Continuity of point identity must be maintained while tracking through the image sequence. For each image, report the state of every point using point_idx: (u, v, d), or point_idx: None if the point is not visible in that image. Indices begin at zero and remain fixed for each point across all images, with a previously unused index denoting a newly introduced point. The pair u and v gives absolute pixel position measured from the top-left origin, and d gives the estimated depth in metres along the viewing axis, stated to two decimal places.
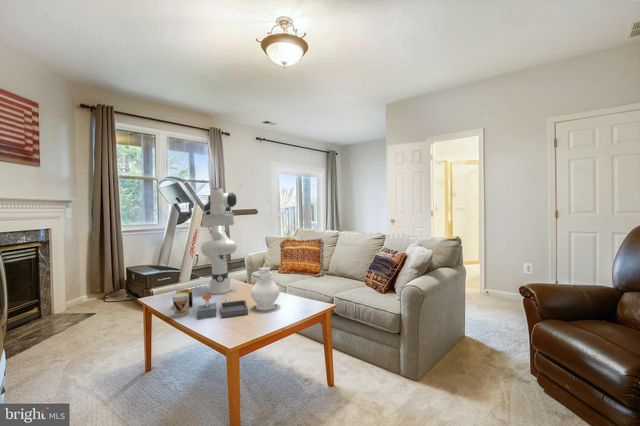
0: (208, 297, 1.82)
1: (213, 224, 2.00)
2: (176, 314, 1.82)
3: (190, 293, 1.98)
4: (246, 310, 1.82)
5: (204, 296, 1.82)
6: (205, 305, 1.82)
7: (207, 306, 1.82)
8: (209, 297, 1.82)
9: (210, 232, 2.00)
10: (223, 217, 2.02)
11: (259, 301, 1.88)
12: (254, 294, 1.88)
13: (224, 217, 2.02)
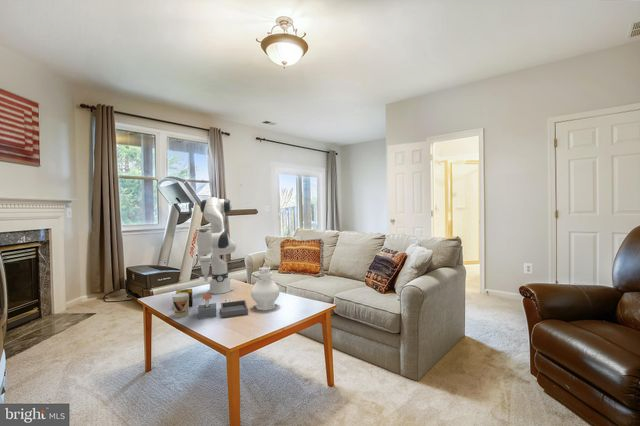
0: (208, 297, 1.82)
1: None
2: (176, 314, 1.82)
3: (190, 293, 1.98)
4: (246, 310, 1.82)
5: (204, 296, 1.82)
6: (205, 305, 1.82)
7: (207, 306, 1.82)
8: (209, 297, 1.82)
9: (207, 279, 1.78)
10: None
11: (259, 301, 1.88)
12: (254, 294, 1.88)
13: None
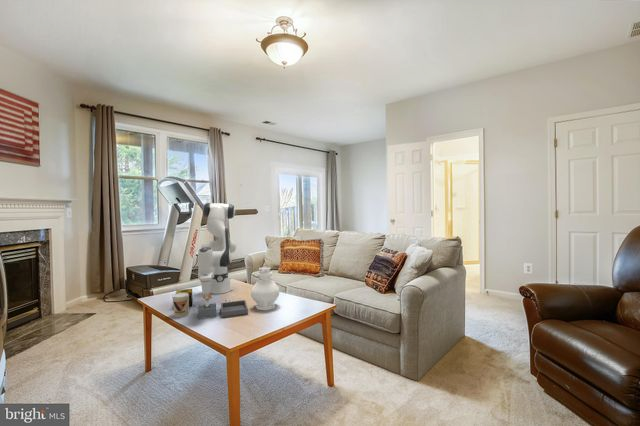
0: (208, 297, 1.82)
1: None
2: (176, 314, 1.82)
3: (190, 293, 1.98)
4: (246, 310, 1.82)
5: (204, 296, 1.82)
6: (205, 305, 1.83)
7: (207, 306, 1.82)
8: (209, 297, 1.83)
9: None
10: None
11: (259, 301, 1.88)
12: (254, 294, 1.88)
13: None
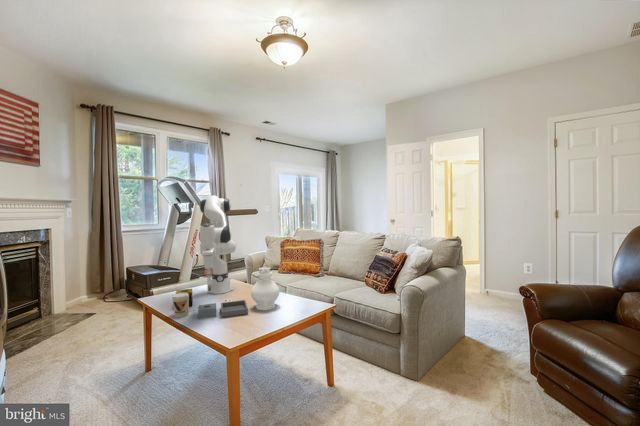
0: (210, 272, 1.82)
1: None
2: (176, 314, 1.82)
3: (190, 293, 1.98)
4: (246, 310, 1.82)
5: (206, 271, 1.82)
6: (207, 280, 1.83)
7: (209, 281, 1.82)
8: (211, 272, 1.83)
9: None
10: None
11: (259, 301, 1.88)
12: (254, 294, 1.88)
13: None
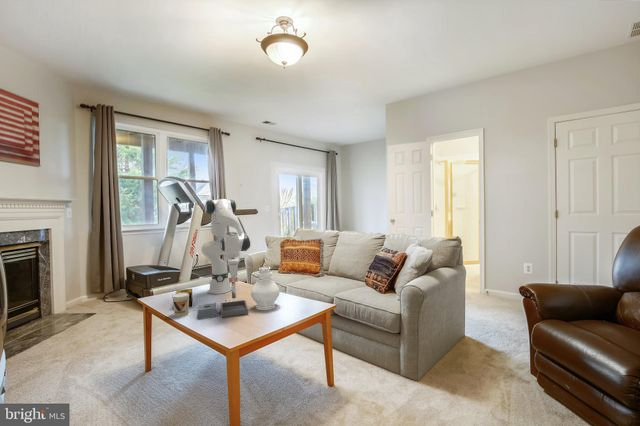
0: None
1: None
2: (176, 314, 1.82)
3: (190, 293, 1.98)
4: (246, 310, 1.82)
5: (231, 279, 1.86)
6: (232, 288, 1.87)
7: (234, 289, 1.87)
8: (235, 280, 1.87)
9: None
10: None
11: (259, 301, 1.88)
12: (254, 294, 1.88)
13: None
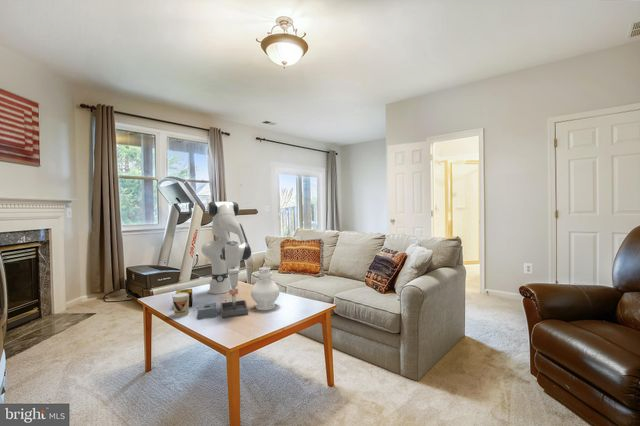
0: (235, 292, 1.87)
1: None
2: (176, 314, 1.82)
3: (190, 293, 1.98)
4: (246, 310, 1.82)
5: (231, 291, 1.87)
6: (232, 300, 1.88)
7: (234, 301, 1.87)
8: (236, 292, 1.88)
9: None
10: None
11: (259, 301, 1.88)
12: (254, 294, 1.88)
13: None
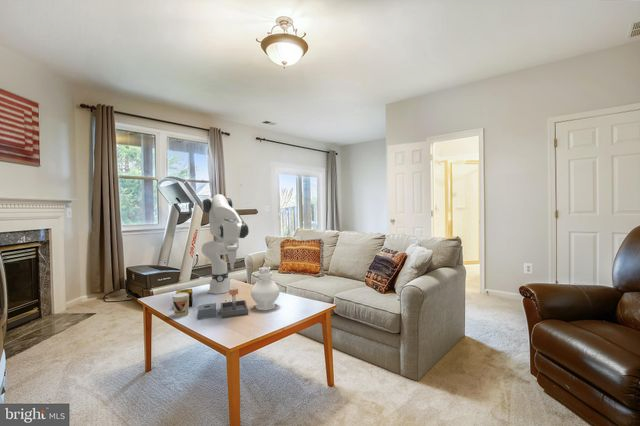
0: (235, 293, 1.87)
1: None
2: (176, 314, 1.82)
3: (190, 293, 1.98)
4: (246, 310, 1.82)
5: (231, 292, 1.87)
6: (232, 300, 1.88)
7: (234, 301, 1.87)
8: (236, 293, 1.88)
9: (233, 268, 1.84)
10: None
11: (259, 301, 1.88)
12: (254, 294, 1.88)
13: None
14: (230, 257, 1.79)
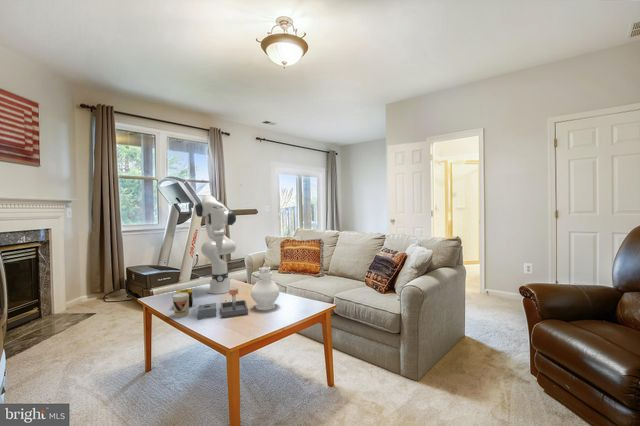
0: (235, 293, 1.87)
1: None
2: (176, 314, 1.82)
3: (190, 293, 1.98)
4: (246, 310, 1.82)
5: (231, 291, 1.87)
6: (232, 300, 1.88)
7: (234, 301, 1.87)
8: (236, 293, 1.88)
9: (220, 252, 1.94)
10: None
11: (259, 301, 1.88)
12: (254, 294, 1.88)
13: None
14: (217, 241, 1.88)
